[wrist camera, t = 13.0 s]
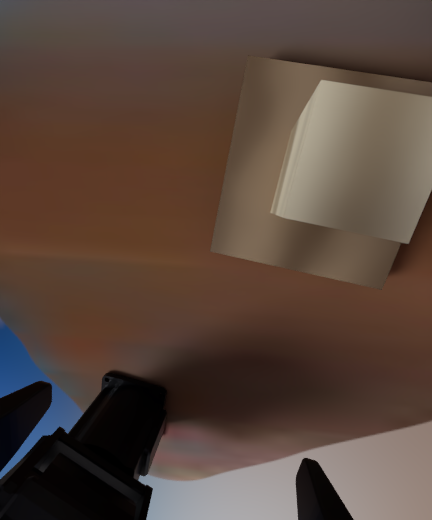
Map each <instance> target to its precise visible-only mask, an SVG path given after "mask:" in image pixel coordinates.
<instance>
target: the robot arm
mask: <svg viewBox="0 0 432 520" xmlns="http://www.w3.org/2000/svg"><path fill="white" fill-rule="evenodd" d="M161 393H162V394H161ZM166 395H167V391H166V390H165V389H164V388H162V387H158V386H155V385H151V384H148V383H144V382H140V381H137V380H133V379H130V378H126V377H123V376H119V375H115V374H112V373H106V374H105V375H104V376H103V378H102V389H101V392H100V393H99V395H98V396H97V397H96V399H95V400H94V401H93V402H92V404H91V405H90V406H89V407H88V409H87V410H86V411H85V413H84V414H83V415H82V417H81V418H80V419H79V420H78V422H77V423H76V424H75V425H74V427H73V428H72V429H71V430H70V432H69V433H68V434H67V433H66V432H65V430H64V429H63V428H61V427H59V428H58V429H57V430H56V431H55V432H54V433H53V434H52V435H48V436H42V437H41V438H40V440H39V441H38V442H37V443H36V444H35V445H34V446H33V447H32V449H31V450H30V451H29V452H28V453H27V454H26V455H25V456H24V457H23V458H22V459H21V460H20V461H19V462H18V463H17V464H16V465H15V466H14V467H13V468H12V469H11V470H10V471H9V472H8V473H7V474H5V475H4V476H3V477H2V478H1V479H0V520H146V517H147V512H148V508H149V504H150V499H151V495H152V490H153V488H151V487H150V486H148V485H146V486H145V485H144V484H142V483H141V482H139V481H138V479H139V476H140V475H141V476H146V475H147V474H148V472H149V469H150V466H151V464H152V461H153V458H154V456H155V453H156V450H157V448H158V445H159V442H160V440H161V437H162V434H163V432H164V427H165V421H166V415H167V412H166V410H165V409H164V406H165V400H166ZM51 402H52V385H51V384H50V383H47V382H44V381H38V382H35V383H33V384H31V385H29V386H26V387H24V388H22V389H20V390H17V391H15V392H13V393H11V394H9V395H6V396H4V397H2V398H0V472H1V470H2V469H3V468H4V467H5V466H6V464H7V463H8V462H9V461H10V460H11V458H12V457H13V456H14V455H15V453H16V452H17V451H18V449H19V448H20V447H21V445H22V444H23V443H24V441H25V440H26V438H27V437H28V436H29V434H30V433H31V432H32V430H33V429H34V428H35V426H36V425H37V424H38V422H39V421H40V420H41V418H42V417H43V415H44V414H45V413H46V411H47V410H48V409H49V407H50V405H51ZM296 492H297V508H298V520H353V518H352V516H351V515H350V513H349V512H348V510H347V508H346V507H345V505H344V503H343V502H342V500H341V499H340V497H339V495H338V494H337V492H336V491H335V489H334V487H333V486H332V484H331V483H330V481H329V479H328V478H327V476H326V475H325V473H324V471H323V470H322V468H321V467H320V465H319V463H318V462H317V461H315V460H311V459H308V458H304V459H303V460H302V463H301V465H300V467H299V470H298V472H297V475H296Z"/></svg>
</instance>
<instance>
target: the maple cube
mask: <svg viewBox="0 0 432 520" xmlns="http://www.w3.org/2000/svg"><path fill="white" fill-rule="evenodd" d="M431 190H432V97H428V96H422V95H415V94H409V93H403V92H396V91H390V90H383V89H377V88H371V87H364V86H358V85H351V84H345V83H338V82H332V81H326V80H321V81H320V83H319V84H318V86H317V88H316V90H315V91H314V93H313V95H312V96H311V98H310V100H309V101H308V103H307V105H306V107H305V108H304V110H303V112H302V113H301V115H300V117H299V119H298V120H297V122H296V124H295V125H294V127H293V129H292V130H291V134H290V138H289V141H288V145H287V149H286V153H285V157H284V161H283V165H282V169H281V173H280V177H279V180H278V184H277V188H276V192H275V196H274V200H273V204H272V208H271V212H270V213H272V214H275V215H277V216H280V217H282V218H286V219H291V220H296V221H301V222H306V223H310V224H315V225H320V226H325V227H330V228H334V229H339V230H344V231H349V232H354V233H358V234H363V235H368V236H373V237H378V238H382V239H387V240H392V241H397V242H402V243H406V244H409V242H410V239H411V237H412V235H413V232H414V230H415V228H416V225H417V223H418V221H419V218H420V216H421V214H422V211H423V209H424V207H425V204H426V202H427V200H428V197H429V195H430V193H431Z"/></svg>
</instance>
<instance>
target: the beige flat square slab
mask: <svg viewBox="0 0 432 520" xmlns="http://www.w3.org/2000/svg"><path fill="white" fill-rule="evenodd" d="M321 80H326V81H332V82H338V83H345V84H351V85H358V86H364V87H371V88H377V89H383V90H390V91H396V92H403V93H409V94H415V95H422V96H428V97H432V82H425V81H418V80H411V79H404V78H398V77H391V76H384V75H377V74H371V73H364V72H357V71H350V70H343V69H337V68H330V67H323V66H316V65H309V64H303V63H296V62H289V61H282V60H276V59H269V58H262V57H255V56H248V58H247V63H246V68H245V74H244V79H243V84H242V89H241V94H240V99H239V105H238V110H237V115H236V120H235V125H234V130H233V136H232V141H231V146H230V151H229V156H228V161H227V167H226V172H225V177H224V182H223V187H222V192H221V198H220V203H219V208H218V213H217V218H216V223H215V228H214V234H213V239H212V244H211V249H210V252H215V253H219V254H224V255H228V256H233V257H237V258H242V259H246V260H251V261H255V262H260V263H264V264H269V265H273V266H278V267H282V268H286V269H291V270H295V271H300V272H304V273H309V274H313V275H318V276H322V277H327V278H331V279H336V280H340V281H345V282H349V283H353V284H358V285H362V286H367V287H371V288H376V289H380V290H382V288H383V286H384V283H385V281H386V279H387V276H388V274H389V271H390V269H391V267H392V264H393V262H394V259H395V257H396V255H397V252H398V250H399V247H400V245H401V243H402V242H397V241H392V240H387V239H382V238H378V237H373V236H368V235H363V234H358V233H354V232H349V231H344V230H339V229H334V228H330V227H325V226H320V225H315V224H310V223H306V222H301V221H296V220H291V219H286V218H282V217H280V216H277V215H275V214H272V213H270V212H271V208H272V204H273V200H274V196H275V192H276V188H277V184H278V180H279V177H280V173H281V169H282V165H283V161H284V157H285V153H286V149H287V145H288V141H289V138H290V134H291V130H292V129H293V127H294V125H295V124H296V122H297V120H298V119H299V117H300V115H301V113H302V112H303V110H304V108H305V107H306V105H307V103H308V101H309V100H310V98H311V96H312V95H313V93H314V91H315V90H316V88H317V86H318V84H319V83H320V81H321Z"/></svg>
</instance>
